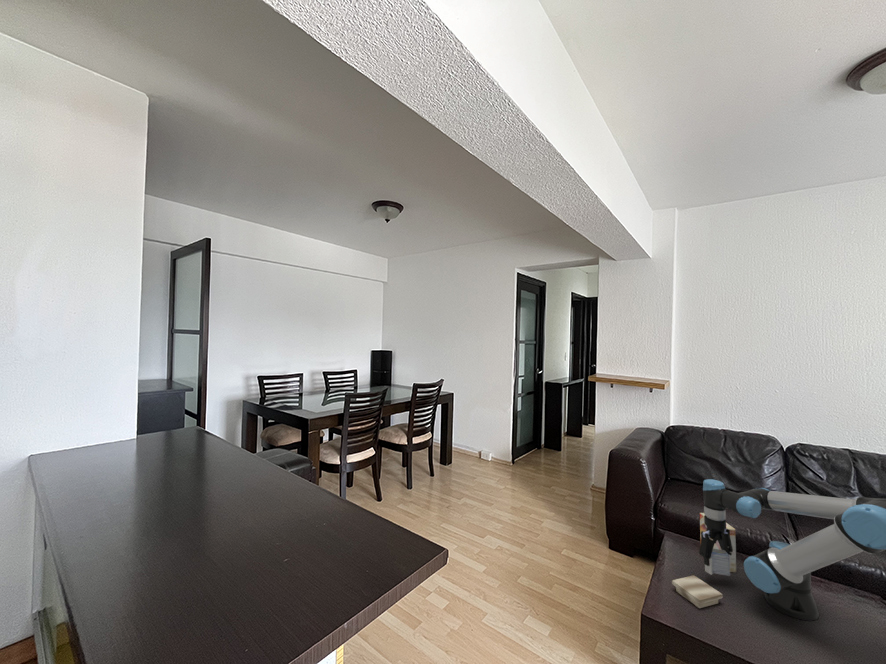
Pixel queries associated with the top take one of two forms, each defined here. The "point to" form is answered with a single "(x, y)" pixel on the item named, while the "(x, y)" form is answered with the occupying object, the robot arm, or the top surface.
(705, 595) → the stand
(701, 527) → the coffeecake box
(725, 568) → the medicine box
